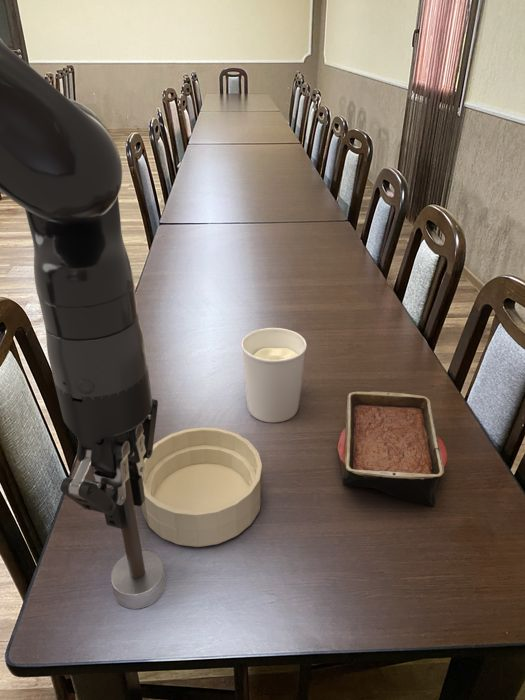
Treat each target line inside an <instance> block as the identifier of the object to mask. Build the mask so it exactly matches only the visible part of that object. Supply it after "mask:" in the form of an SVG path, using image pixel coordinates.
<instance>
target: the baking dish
mask: <svg viewBox="0 0 525 700" xmlns="http://www.w3.org/2000/svg"><path fill="white" fill-rule="evenodd" d="M345 399H346V400H345V427H344V428H343V430H342V432H341V433H340V434H339V439H338V442H337V447H336V448H337V453H338V459H339V460H338V461H339V467H340V471H341V479H342V486H343V487H355V488H367V489H369V488H370V489H375V490H378V491H380V492H383V493H385V494H388V495H390V496H393V497H396V498H398V499H401V500H403V501H405V502H408V503H412V504H416V505H422V506H427V507H431V508H435V504H436V490H437V486H438V483H439V480H440V478H441V476H442V475H443V474H445V469H446V467H447V463H448V452H447V449H446V446H445V444H444V442H443V440H442V439H441V438H440V437H439V435H438V434H437V429H436V424H435V417H434V414H433V413H434V412H433V408H432V404H431V400H430V399H429V398H428V397H427V396H424V395H419V394H415V393H414V394H413V393H403V392H392V391H378V390H377V391H373V390H372V391H371V390H368V391H367V390H366V391H365V390H364V391H363V390H362V391H360V390H358V391H351V392H349V393H348V394H347V396H346V398H345Z"/></svg>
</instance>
